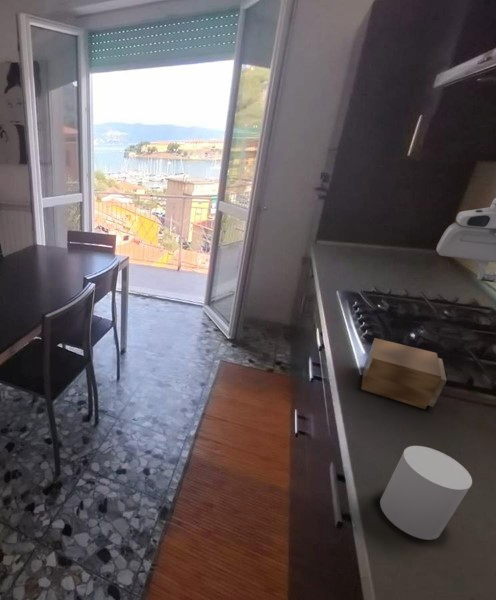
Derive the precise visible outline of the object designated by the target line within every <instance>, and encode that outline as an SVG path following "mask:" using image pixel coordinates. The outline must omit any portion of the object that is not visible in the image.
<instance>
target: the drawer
mask: <svg viewBox="0 0 496 600" xmlns="http://www.w3.org/2000/svg"><path fill="white" fill-rule="evenodd" d="M438 362H439V367H440V372H441V379H440V381H439V383H438V385H437V387H436V389H435V391H434V393H433V395H432V397H431V399H430V401H429V403H428V405H427V406H429V407H435V405H436V403H437V402H438V399H439V397H440V395H441V393H442V391H443V390H444V388H445V387H446V384H447V376H446V375H447V374H446V372H445V365H444V361H443V358H440V357H438Z"/></svg>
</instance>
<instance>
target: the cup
mask: <svg viewBox="0 0 496 600" xmlns="http://www.w3.org/2000/svg"><path fill="white" fill-rule="evenodd" d="M472 485H473V478H472V476H471V474H470V473H469V471H468V470H467V469H466V468H465V467H464V466H463V465H462V464H460V463H459V461H458V460H455V459H454V458H453V457H451V456H449V455H447V454H446V453H444V452H441V451H439V450H437V449H435V448H432V447H427V446H422V445H409V446H407V447H406V448H405V449H403V452H402V454H401V457H400V459H399V461H398V462H397V465H396V467H395V469H394V470H393V473H392V475H391V477H390V479H389V481H388V483H387V485H386V487H385V489H384V492H383V493H382V495H381V497H380V501H379V505H380V508H381V511H382V513H383V514H384V516H385V517H386V518H387V519H388V520H389V522H391V523H392V524H393V525H394V526H395V527H397V528H398V529H399V530H401V531H403V532H404V533H406V534H408V535H409V536H412V537H414V538H416V539H420V540H427V541H432V540H436V539H438V538H439V537H440V536H441V534H442V533H443V531H444V529H445V527H446V526H447V525H448V523H449V521H450V520H451V518H452V516H453V515H454V513H455V512H456V510H457V509H458V507H459V506H460V504H461V503H462V501H463V499H464V497H465V496H466V495H467V493H468V491H469V489H471V487H472Z"/></svg>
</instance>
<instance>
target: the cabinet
mask: <svg viewBox="0 0 496 600" xmlns="http://www.w3.org/2000/svg"><path fill="white" fill-rule="evenodd" d="M438 358H439V357H438V353H437V352H434V351H429V350H426V349H422V348H418V347H414V346H409V345H406V344H401V343H397V342H393V341H389V340H386V339H385V340H384V339H381V338H378V337H377V338H376V337H374V338H373V341H372V344H371V346H370V350H369V352H368V355H367V357H366V359H365V363H364V366H363V372H362V382H361V388H360V389H361V390H363V391H366V392H368V393H372V394H375V395H379V396H382V397H385V398H388V399H392V400H395V401H397V402H401V403H404V404H407V405H410V406H414V407H417V408H420V409H422V410H423V409H424V410H426V409H427V407H428V406H429V405H428V403H429V401H430V399H431V397H432V395H433V393H434V391H435V389H436V387H437V385H438V383H439V381H440V379H441V372H440V367H439V362H438Z"/></svg>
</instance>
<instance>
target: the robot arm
mask: <svg viewBox="0 0 496 600" xmlns="http://www.w3.org/2000/svg"><path fill="white" fill-rule="evenodd" d="M455 221H456V222H452V223H451V224H450V225H448V226H447V228H446V229H445V231H443V234H442V235H441V237H440V239H439V241H438V243H437V245H436V248H435V250H436V253H437V254H438V255H439V256H442V257H449V258H457V259H463V260H471V261H472V260H473V261H476V265H477V268H478V271H479V272H478V274H477V277H476V280H477V281H483V282H489V283H495V284H496V271H494V272H491V271H486V270H485V267H487V266H488V265H489V263H494V264H495V263H496V197H495V198H494V199H493V200H492V201H491V203H490V206H488V207H483V208H477V209H476V208H475V209H469V210H462V211H459V212H458V213H457V214H456V217H455Z"/></svg>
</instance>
